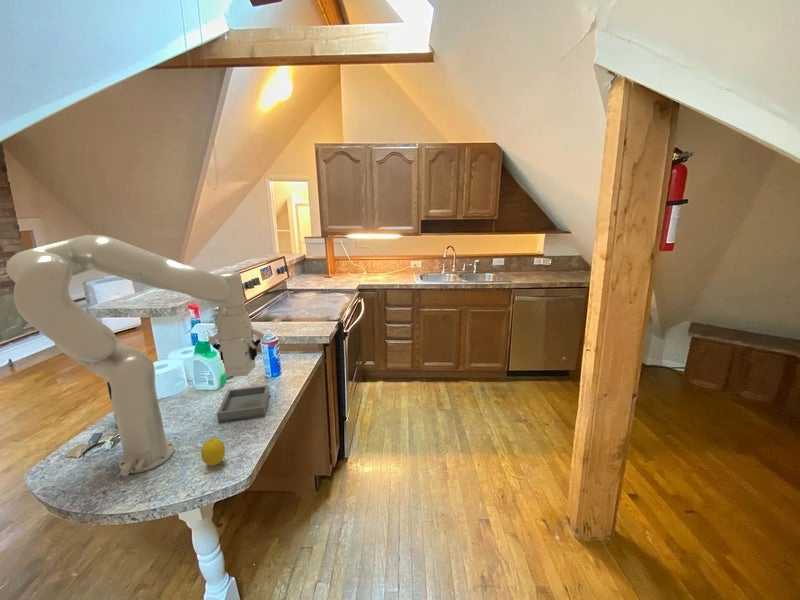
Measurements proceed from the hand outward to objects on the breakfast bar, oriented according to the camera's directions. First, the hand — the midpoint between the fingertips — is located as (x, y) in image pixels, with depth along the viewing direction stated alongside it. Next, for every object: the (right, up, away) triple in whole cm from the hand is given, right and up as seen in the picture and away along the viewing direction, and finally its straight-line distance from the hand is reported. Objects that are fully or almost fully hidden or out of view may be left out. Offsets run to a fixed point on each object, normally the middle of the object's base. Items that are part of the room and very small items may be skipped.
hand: (239, 359), depth 119 cm
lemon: (+4, -24, -24) cm, 34 cm away
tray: (0, -17, +4) cm, 18 cm away
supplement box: (0, -4, +1) cm, 4 cm away
